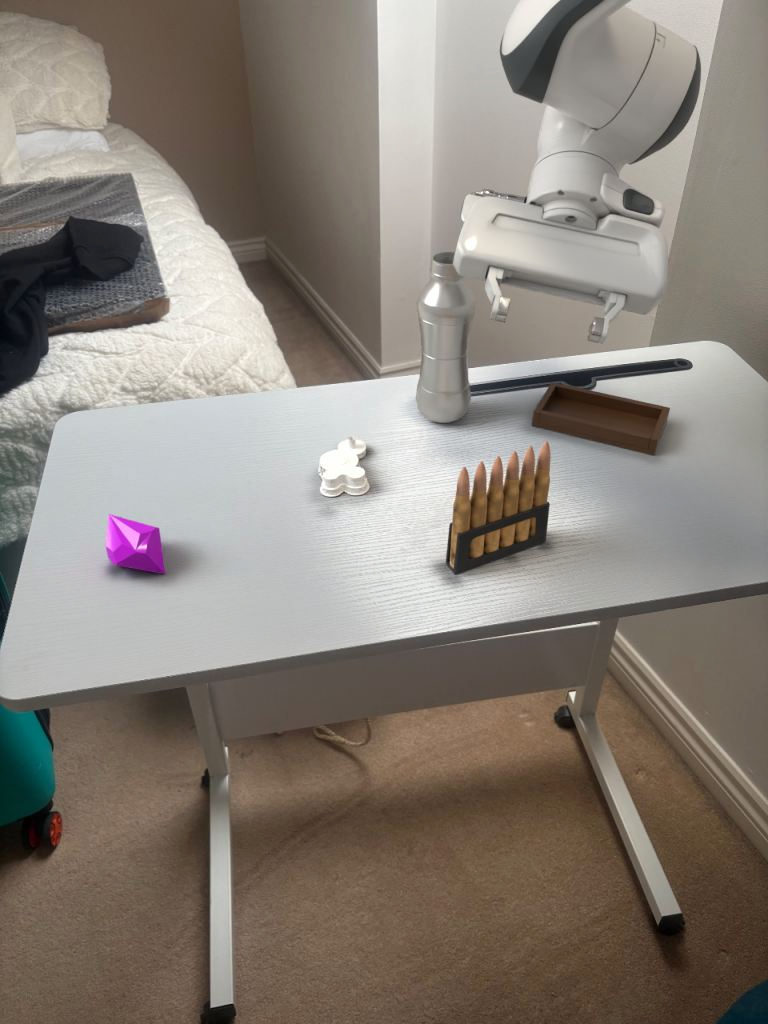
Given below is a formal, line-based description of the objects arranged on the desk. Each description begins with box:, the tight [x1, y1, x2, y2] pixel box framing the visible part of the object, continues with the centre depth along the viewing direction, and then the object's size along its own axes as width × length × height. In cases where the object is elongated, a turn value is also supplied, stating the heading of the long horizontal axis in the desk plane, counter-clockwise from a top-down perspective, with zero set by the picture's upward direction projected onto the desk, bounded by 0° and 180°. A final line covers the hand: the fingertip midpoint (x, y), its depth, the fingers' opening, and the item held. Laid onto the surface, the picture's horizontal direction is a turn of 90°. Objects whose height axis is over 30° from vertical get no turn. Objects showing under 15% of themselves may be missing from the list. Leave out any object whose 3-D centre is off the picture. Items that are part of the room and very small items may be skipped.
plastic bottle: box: [415, 251, 477, 424], centre depth 96 cm, size 6×7×20 cm
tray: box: [531, 381, 671, 456], centre depth 99 cm, size 15×8×2 cm, turn 65°
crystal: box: [105, 513, 166, 575], centre depth 81 cm, size 5×5×5 cm
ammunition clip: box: [445, 440, 552, 576], centre depth 79 cm, size 11×2×12 cm, turn 116°
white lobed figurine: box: [317, 435, 370, 509], centre depth 92 cm, size 9×9×2 cm
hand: (547, 328), depth 78 cm, fingers open, 8 cm apart
